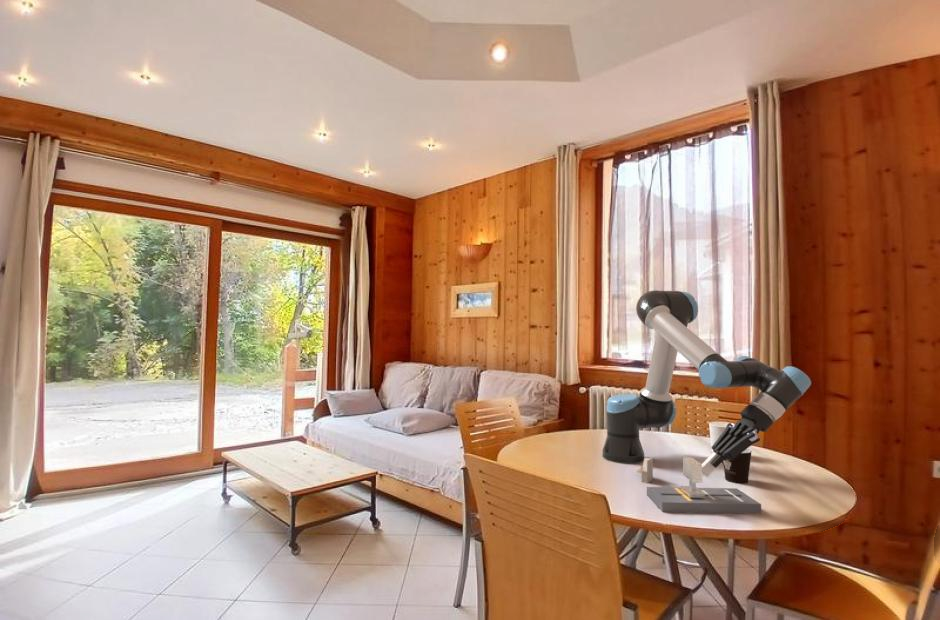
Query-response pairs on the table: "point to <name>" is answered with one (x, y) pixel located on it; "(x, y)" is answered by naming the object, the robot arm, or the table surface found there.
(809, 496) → the table surface
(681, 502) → the console
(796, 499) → the table surface
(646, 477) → the architectural model
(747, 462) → the coffee mug
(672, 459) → the table surface
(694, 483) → the fader
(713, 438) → the candle holder
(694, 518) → the table surface
